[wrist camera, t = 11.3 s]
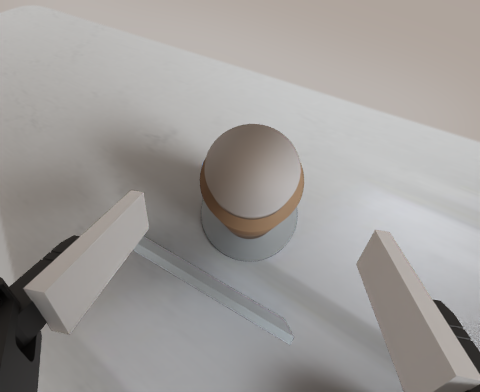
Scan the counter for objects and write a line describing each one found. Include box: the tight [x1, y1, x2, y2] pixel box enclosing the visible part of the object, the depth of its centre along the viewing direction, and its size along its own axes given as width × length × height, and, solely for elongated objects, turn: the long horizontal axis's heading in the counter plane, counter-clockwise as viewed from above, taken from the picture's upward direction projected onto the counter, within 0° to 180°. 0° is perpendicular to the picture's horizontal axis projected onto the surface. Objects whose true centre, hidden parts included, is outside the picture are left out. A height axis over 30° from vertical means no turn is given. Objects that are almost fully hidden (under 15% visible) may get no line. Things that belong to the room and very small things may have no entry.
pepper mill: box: [200, 124, 304, 239], centre depth 15 cm, size 5×5×12 cm
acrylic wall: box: [133, 236, 294, 345], centre depth 18 cm, size 15×1×4 cm, turn 61°
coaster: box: [201, 199, 297, 261], centre depth 21 cm, size 9×9×1 cm
